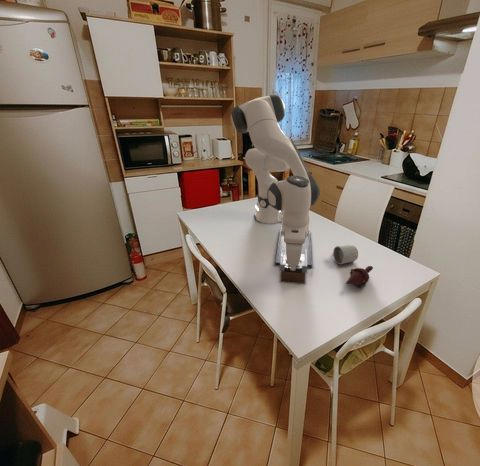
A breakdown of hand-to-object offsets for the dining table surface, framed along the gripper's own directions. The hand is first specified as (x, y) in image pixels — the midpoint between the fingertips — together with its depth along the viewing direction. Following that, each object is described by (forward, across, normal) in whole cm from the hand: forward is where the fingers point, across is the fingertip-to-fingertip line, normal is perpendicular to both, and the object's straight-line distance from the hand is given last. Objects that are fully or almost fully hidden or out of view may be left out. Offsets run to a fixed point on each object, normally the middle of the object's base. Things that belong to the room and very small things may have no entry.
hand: (293, 261), depth 93 cm
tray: (+11, -28, 0) cm, 31 cm away
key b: (+6, -7, +2) cm, 9 cm away
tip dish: (+6, -7, 0) cm, 9 cm away
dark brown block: (+11, -7, 0) cm, 13 cm away
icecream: (+11, -4, +25) cm, 28 cm away
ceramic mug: (+11, -21, +21) cm, 32 cm away
